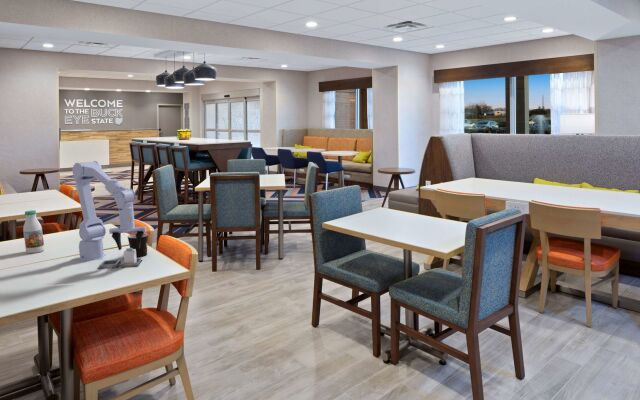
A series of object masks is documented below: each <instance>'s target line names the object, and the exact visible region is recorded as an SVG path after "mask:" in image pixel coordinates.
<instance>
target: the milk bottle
mask: <svg viewBox="0 0 640 400" xmlns="http://www.w3.org/2000/svg"><path fill="white" fill-rule="evenodd" d="M24 215H25V221H24V224H23V229H22V231H23V239H24V240H23V241H24V246H25V247H24V248H25V252H26V254H38V253H41V252H44V251H45V242H44V241H45V240H44V235H43V234H44V233H43V227H42V224H41V223H40V221H39V220H38V218H37V211H36V210H34V209H33V210H26V211H25V212H24Z"/></svg>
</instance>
